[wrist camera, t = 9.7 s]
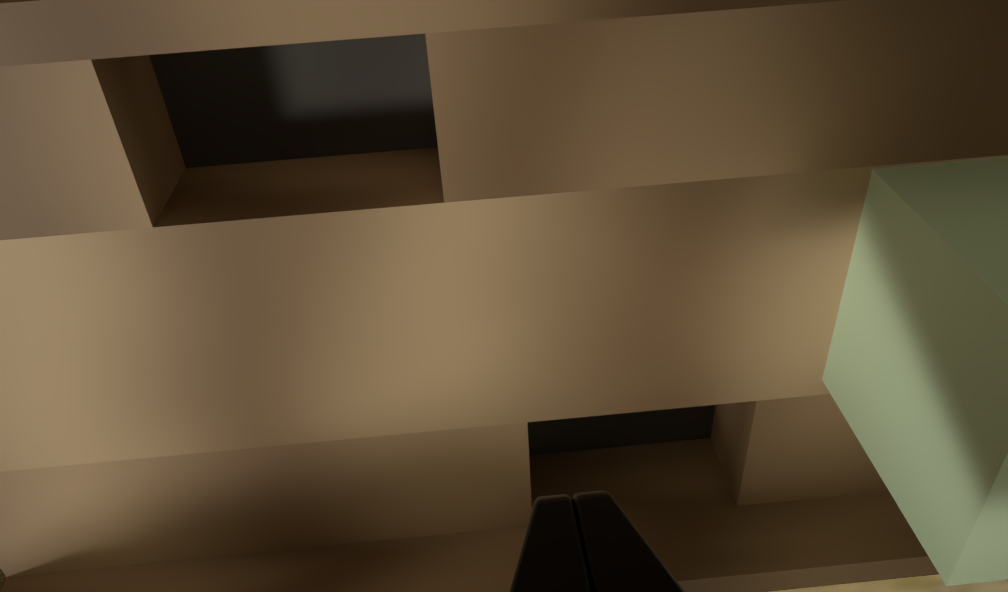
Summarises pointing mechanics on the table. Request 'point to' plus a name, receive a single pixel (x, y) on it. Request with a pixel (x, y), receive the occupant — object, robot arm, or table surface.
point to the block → (933, 356)
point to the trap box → (451, 281)
